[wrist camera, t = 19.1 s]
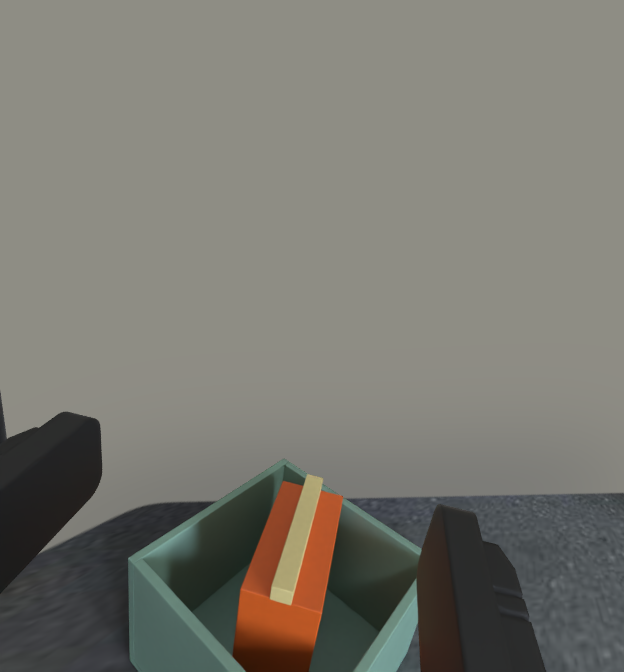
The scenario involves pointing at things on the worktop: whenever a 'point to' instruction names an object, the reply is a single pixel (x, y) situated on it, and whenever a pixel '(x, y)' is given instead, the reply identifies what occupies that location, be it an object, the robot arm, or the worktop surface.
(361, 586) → the bin
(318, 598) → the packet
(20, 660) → the worktop surface
